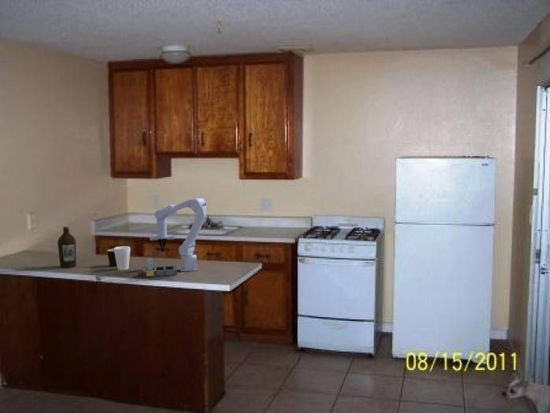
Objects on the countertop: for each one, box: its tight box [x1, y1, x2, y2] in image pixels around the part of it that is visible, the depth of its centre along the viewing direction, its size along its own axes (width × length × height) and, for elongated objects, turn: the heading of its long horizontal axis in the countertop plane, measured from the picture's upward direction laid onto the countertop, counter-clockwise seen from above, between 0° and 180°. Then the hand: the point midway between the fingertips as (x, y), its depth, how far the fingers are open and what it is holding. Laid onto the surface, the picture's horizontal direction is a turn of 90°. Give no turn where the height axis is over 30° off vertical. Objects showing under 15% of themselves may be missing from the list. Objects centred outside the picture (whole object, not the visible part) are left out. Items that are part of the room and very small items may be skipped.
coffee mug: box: [106, 248, 117, 268], centre depth 358 cm, size 12×9×10 cm
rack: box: [142, 264, 178, 278], centre depth 333 cm, size 19×13×3 cm
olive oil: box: [57, 226, 77, 269], centre depth 356 cm, size 11×11×25 cm
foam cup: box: [113, 245, 131, 271], centre depth 348 cm, size 10×9×13 cm
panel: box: [146, 258, 154, 271], centre depth 332 cm, size 3×8×8 cm, turn 11°
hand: (162, 251), depth 346 cm, fingers closed
